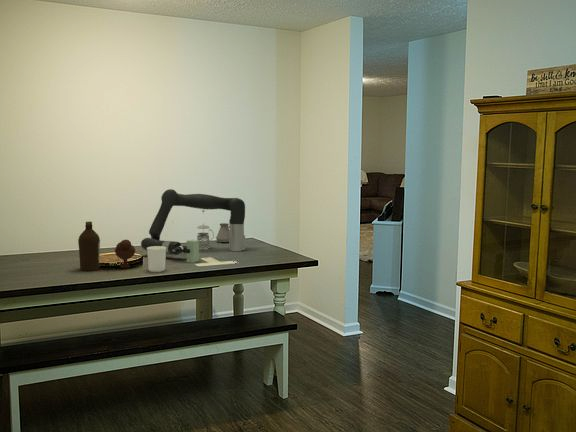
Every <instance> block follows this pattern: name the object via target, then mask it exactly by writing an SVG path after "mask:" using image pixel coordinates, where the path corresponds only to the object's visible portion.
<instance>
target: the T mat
mask: <svg viewBox="0 0 576 432" xmlns="http://www.w3.org/2000/svg"><path fill="white" fill-rule="evenodd" d="M199 260H203V261H204V262H201V263H194V265H195V266H196V267H209V266H223V265H233V264H234V265H235V263H237V262H238V261H236V260H228V261H227V260H226V261H220V260H217V259H215V258H213V257H202V258H201V257H199ZM233 261H234V262H233ZM237 264H238V263H237Z"/></svg>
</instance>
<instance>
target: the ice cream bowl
mask: <svg viewBox="0 0 576 432" xmlns="http://www.w3.org/2000/svg"><path fill="white" fill-rule="evenodd" d="M114 253H115V255H116V256H117V257H118V258H119V259H121V260H122V261H123V264H120V265H119V268H122V269H127V268H131V265H130V264H129V263H128V260H129V259H131V258H132V257H133V256H135V254H136V248H135V246H134V245H132V242H131V241H130V239H122V240H121V241H120V242H118V243H117V244H116V246H115V248H114Z"/></svg>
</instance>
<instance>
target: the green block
mask: <svg viewBox="0 0 576 432" xmlns="http://www.w3.org/2000/svg"><path fill="white" fill-rule="evenodd" d="M199 243H200V242H199V240H197V239H187V240H186V245H187V249H190V253H186V263H187V262H188V263H197V262H200V249H199V245H200V244H199Z"/></svg>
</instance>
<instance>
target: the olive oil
mask: <svg viewBox="0 0 576 432" xmlns="http://www.w3.org/2000/svg"><path fill="white" fill-rule="evenodd" d="M84 227H85V229H84V230H83V231H82V232H81V234H80V235H79V236H78V240H77V241H78V243H77V245H78V254H79V255H78V256H79V268H80V271H82V272H93V271H97V270H98V271H99V269H100V255H101V254H100V249H101V245H100V244H101V239H100V236H99V234H98V233H97V232H96V231H94V229H93V222H92V221H85V226H84Z"/></svg>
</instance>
